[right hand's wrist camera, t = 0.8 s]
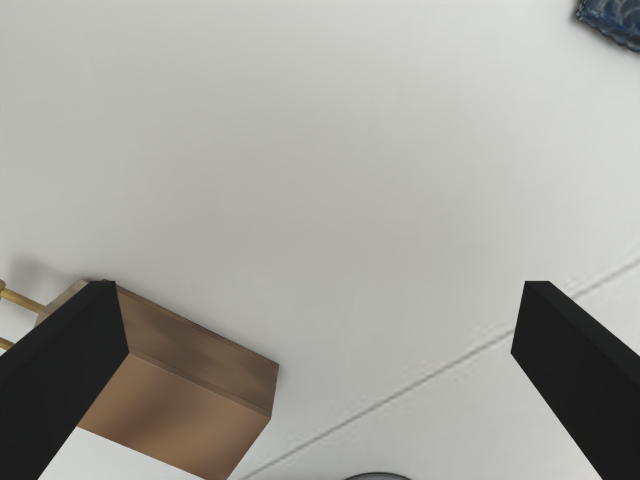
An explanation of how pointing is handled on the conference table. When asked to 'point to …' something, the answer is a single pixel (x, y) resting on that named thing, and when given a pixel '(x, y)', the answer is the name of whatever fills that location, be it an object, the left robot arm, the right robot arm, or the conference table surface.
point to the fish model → (614, 20)
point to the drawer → (37, 304)
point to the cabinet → (183, 393)
